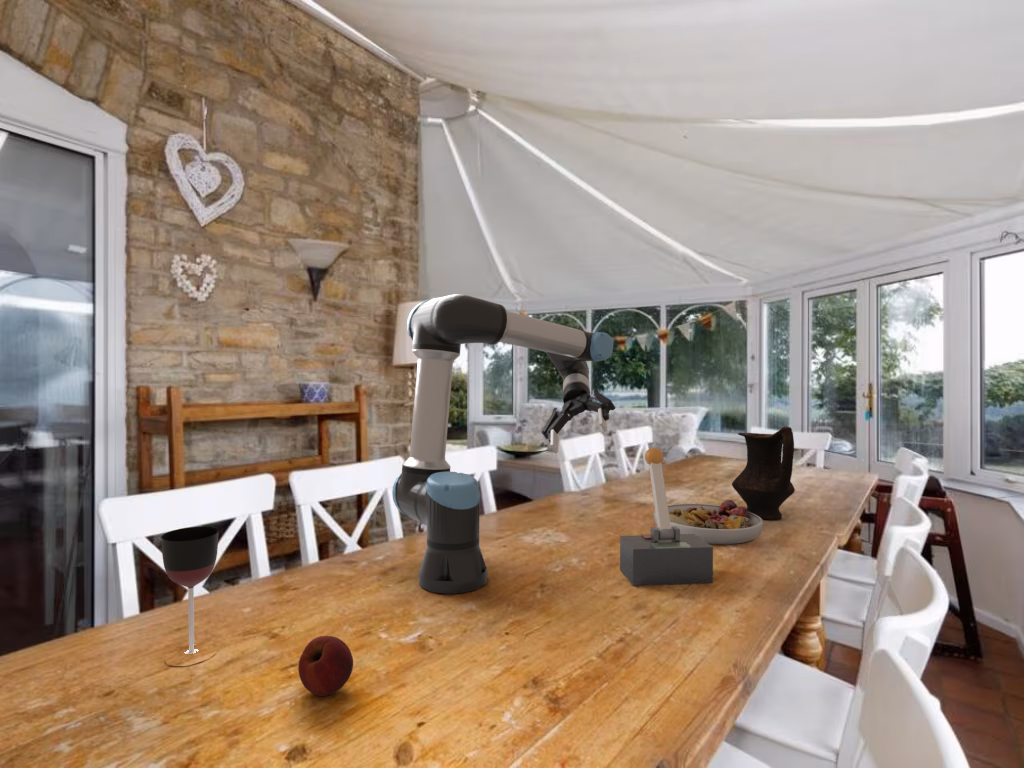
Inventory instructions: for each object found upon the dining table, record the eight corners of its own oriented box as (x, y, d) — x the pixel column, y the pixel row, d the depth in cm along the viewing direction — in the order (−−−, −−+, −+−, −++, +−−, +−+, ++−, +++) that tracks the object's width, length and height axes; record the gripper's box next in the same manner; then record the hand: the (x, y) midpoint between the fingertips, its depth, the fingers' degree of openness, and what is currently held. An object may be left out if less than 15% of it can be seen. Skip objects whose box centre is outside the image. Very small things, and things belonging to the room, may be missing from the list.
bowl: (727, 555, 142) (727, 525, 142) (633, 530, 165) (633, 504, 165) (781, 534, 161) (782, 507, 161) (690, 514, 184) (690, 490, 184)
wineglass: (206, 638, 97) (204, 524, 97) (228, 654, 91) (227, 533, 91) (154, 655, 91) (153, 534, 90) (175, 674, 85) (173, 544, 85)
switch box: (620, 569, 131) (620, 523, 131) (694, 567, 132) (694, 521, 132) (632, 585, 121) (633, 535, 121) (712, 583, 123) (713, 533, 122)
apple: (286, 695, 80) (286, 640, 80) (331, 671, 86) (331, 620, 86) (319, 713, 76) (319, 654, 75) (364, 686, 82) (363, 632, 82)
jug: (719, 511, 186) (719, 422, 186) (764, 507, 192) (765, 420, 191) (765, 528, 166) (766, 428, 165) (814, 523, 171) (815, 426, 171)
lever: (653, 541, 128) (641, 451, 136) (672, 540, 128) (658, 450, 137) (659, 538, 124) (646, 445, 132) (678, 537, 124) (664, 445, 133)
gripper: (623, 383, 152) (631, 429, 134) (544, 420, 160) (542, 467, 142) (611, 363, 149) (617, 406, 131) (531, 400, 157) (527, 446, 139)
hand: (578, 438), depth 137 cm, fingers open, 13 cm apart
